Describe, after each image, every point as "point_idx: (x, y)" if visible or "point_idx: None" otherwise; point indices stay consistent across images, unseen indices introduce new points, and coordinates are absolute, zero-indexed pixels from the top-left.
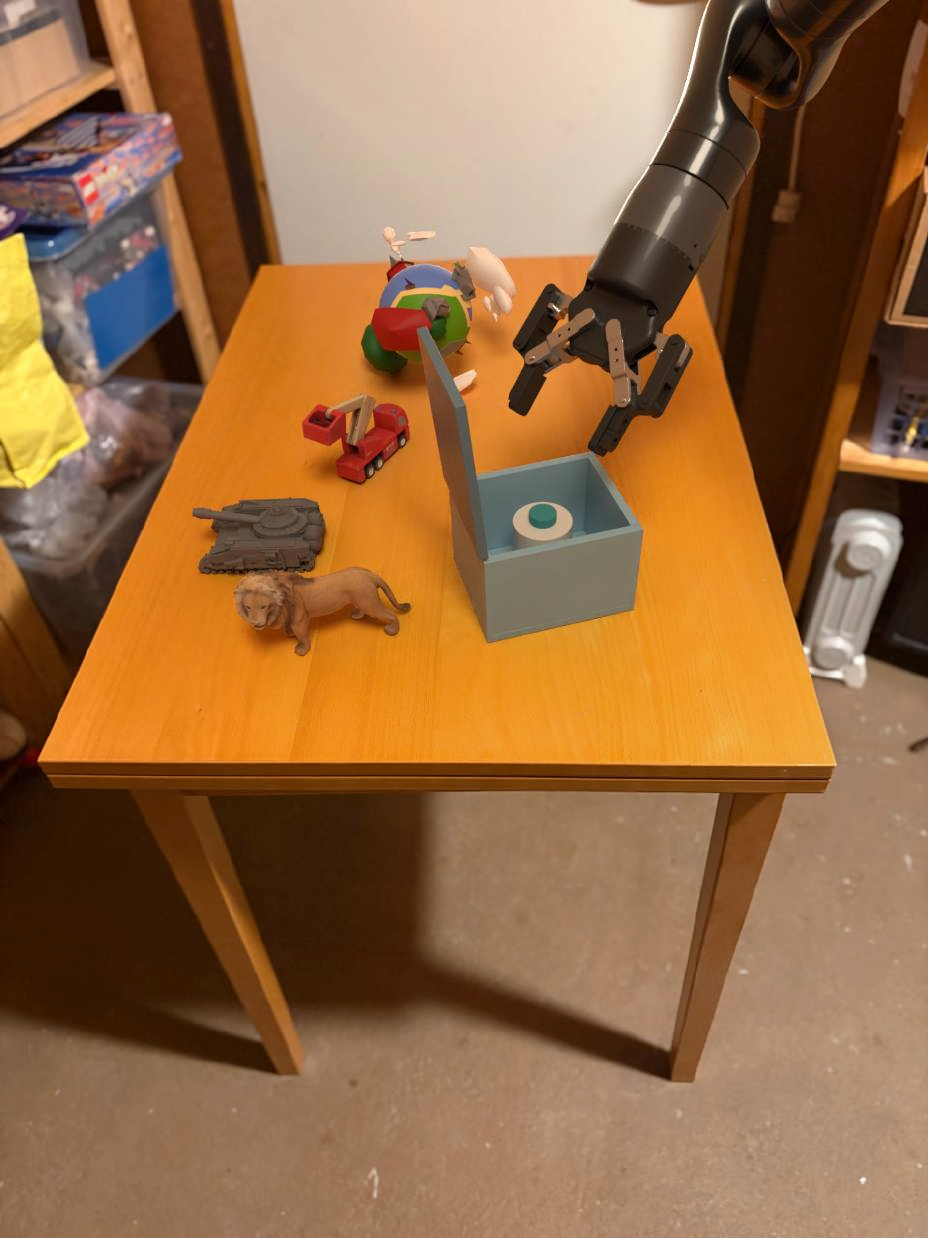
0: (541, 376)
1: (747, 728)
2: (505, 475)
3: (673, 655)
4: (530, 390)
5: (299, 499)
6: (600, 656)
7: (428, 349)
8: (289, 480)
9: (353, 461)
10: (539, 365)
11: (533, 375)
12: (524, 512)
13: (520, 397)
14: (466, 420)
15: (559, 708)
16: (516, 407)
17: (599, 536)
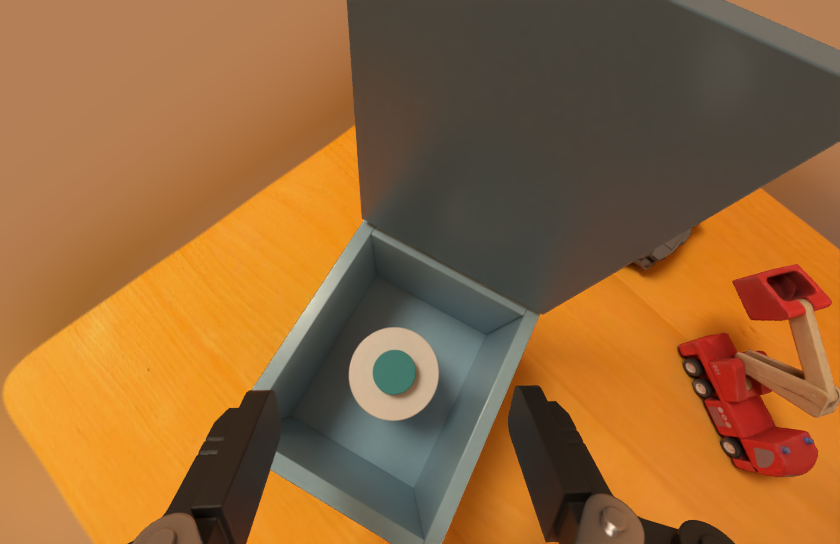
0: (549, 518)
1: (80, 360)
2: (492, 385)
3: (200, 391)
4: (533, 456)
5: (675, 246)
6: (268, 332)
7: (725, 4)
8: (730, 295)
9: (713, 348)
10: (574, 530)
11: (554, 482)
12: (426, 366)
13: (527, 411)
14: None
15: (262, 252)
16: (518, 394)
17: (270, 370)
